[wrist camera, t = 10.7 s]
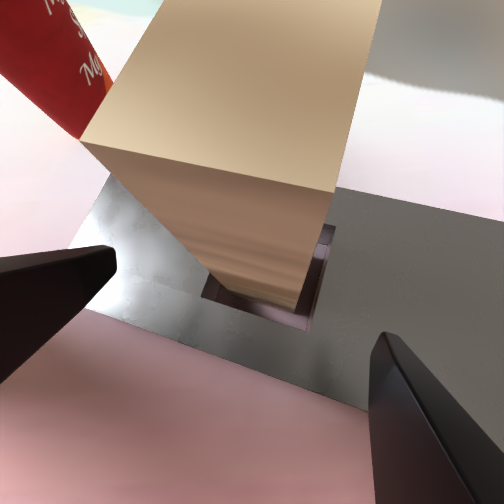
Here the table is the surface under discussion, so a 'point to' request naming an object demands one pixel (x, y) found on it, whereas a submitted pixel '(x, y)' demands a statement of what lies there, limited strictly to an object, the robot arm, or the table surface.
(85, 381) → the table surface
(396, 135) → the table surface
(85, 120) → the paper cup
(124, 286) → the socket plate
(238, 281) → the maple peg
